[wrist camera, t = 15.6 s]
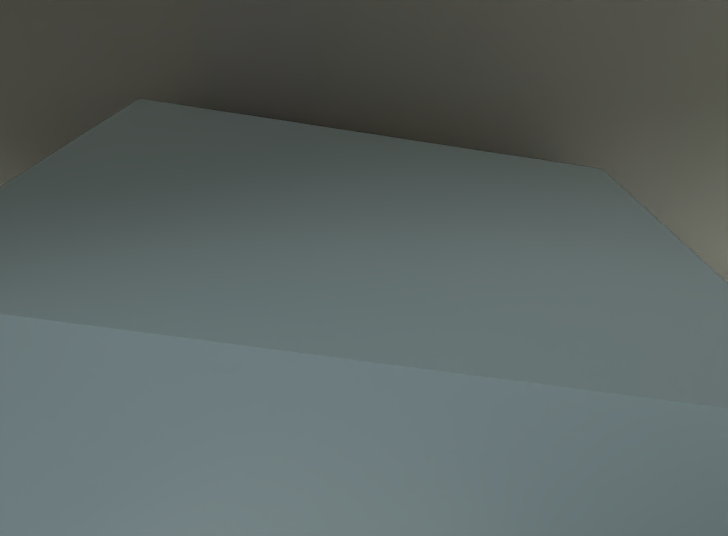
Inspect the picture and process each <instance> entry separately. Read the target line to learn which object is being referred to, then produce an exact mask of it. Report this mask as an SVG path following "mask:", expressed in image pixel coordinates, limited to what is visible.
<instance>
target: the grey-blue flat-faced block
mask: <svg viewBox="0 0 728 536" xmlns="http://www.w3.org/2000/svg"><path fill="white" fill-rule="evenodd" d="M0 536H728V283H727V282H726V281H725V280H724V279H723V278H721V277H720V276H719V275H718V274H717V273H716V272H715V271H714V270H713V269H712V268H710V267H709V266H708V265H707V264H706V263H705V262H704V261H703V260H702V259H701V258H699V257H698V256H697V255H696V254H695V253H694V252H693V251H692V250H691V249H690V248H688V247H687V246H686V245H685V244H684V243H683V242H682V241H681V240H680V239H679V238H677V237H676V236H675V235H674V234H673V233H672V232H671V231H670V230H669V229H668V228H666V227H665V226H664V225H663V224H662V223H661V222H660V221H659V220H658V219H657V218H655V217H654V216H653V215H652V214H651V213H650V212H649V211H648V210H647V209H646V208H644V207H643V206H642V205H641V204H640V203H639V202H638V201H637V200H636V199H635V198H633V197H632V196H631V195H630V194H629V193H628V192H627V191H626V190H625V189H624V188H622V187H621V186H620V185H619V184H618V183H617V182H616V181H615V180H614V179H613V178H611V177H610V176H609V175H608V174H607V173H606V172H605V171H604V170H603V169H598V168H591V167H585V166H578V165H572V164H565V163H559V162H552V161H546V160H539V159H532V158H526V157H519V156H513V155H506V154H500V153H493V152H486V151H480V150H473V149H467V148H460V147H454V146H447V145H441V144H434V143H427V142H421V141H414V140H408V139H401V138H395V137H388V136H381V135H375V134H368V133H362V132H355V131H349V130H342V129H336V128H329V127H322V126H316V125H309V124H303V123H296V122H290V121H283V120H276V119H270V118H263V117H257V116H250V115H244V114H237V113H231V112H224V111H217V110H211V109H204V108H198V107H191V106H185V105H178V104H171V103H165V102H158V101H152V100H145V99H138V100H136V101H134V102H133V103H131V104H130V105H128V106H127V107H125V108H123V109H122V110H120V111H119V112H117V113H115V114H114V115H112V116H111V117H109V118H108V119H106V120H104V121H103V122H101V123H100V124H98V125H97V126H95V127H93V128H92V129H90V130H89V131H87V132H86V133H84V134H82V135H81V136H79V137H78V138H76V139H74V140H73V141H71V142H70V143H68V144H67V145H65V146H63V147H62V148H60V149H59V150H57V151H56V152H54V153H52V154H51V155H49V156H48V157H46V158H45V159H43V160H41V161H40V162H38V163H37V164H35V165H33V166H32V167H30V168H29V169H27V170H26V171H24V172H22V173H21V174H19V175H18V176H16V177H15V178H13V179H11V180H10V181H8V182H7V183H5V184H3V185H2V186H0Z"/></svg>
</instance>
